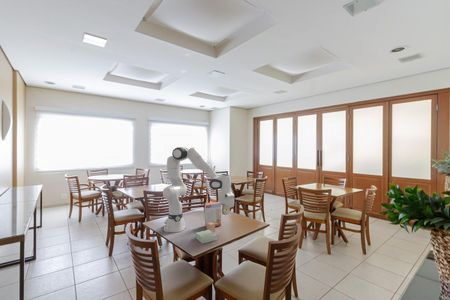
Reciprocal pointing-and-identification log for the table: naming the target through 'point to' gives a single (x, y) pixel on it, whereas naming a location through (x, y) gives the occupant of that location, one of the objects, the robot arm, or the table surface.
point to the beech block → (225, 210)
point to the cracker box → (213, 213)
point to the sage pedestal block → (206, 236)
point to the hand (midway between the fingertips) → (225, 209)
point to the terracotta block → (211, 226)
